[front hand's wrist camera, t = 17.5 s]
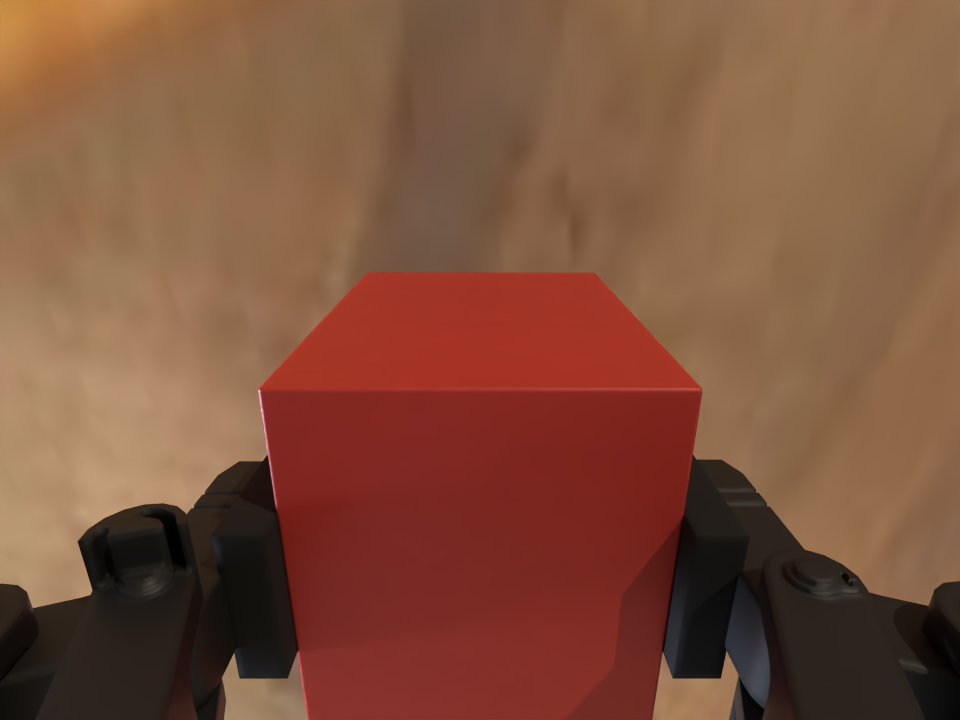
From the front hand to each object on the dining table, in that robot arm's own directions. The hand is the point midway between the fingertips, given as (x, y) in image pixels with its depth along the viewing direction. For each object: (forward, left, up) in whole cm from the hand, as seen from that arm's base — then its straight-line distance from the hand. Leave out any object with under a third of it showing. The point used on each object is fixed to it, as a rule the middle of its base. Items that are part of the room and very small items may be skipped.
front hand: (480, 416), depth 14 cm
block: (0, 0, -2) cm, 2 cm away
